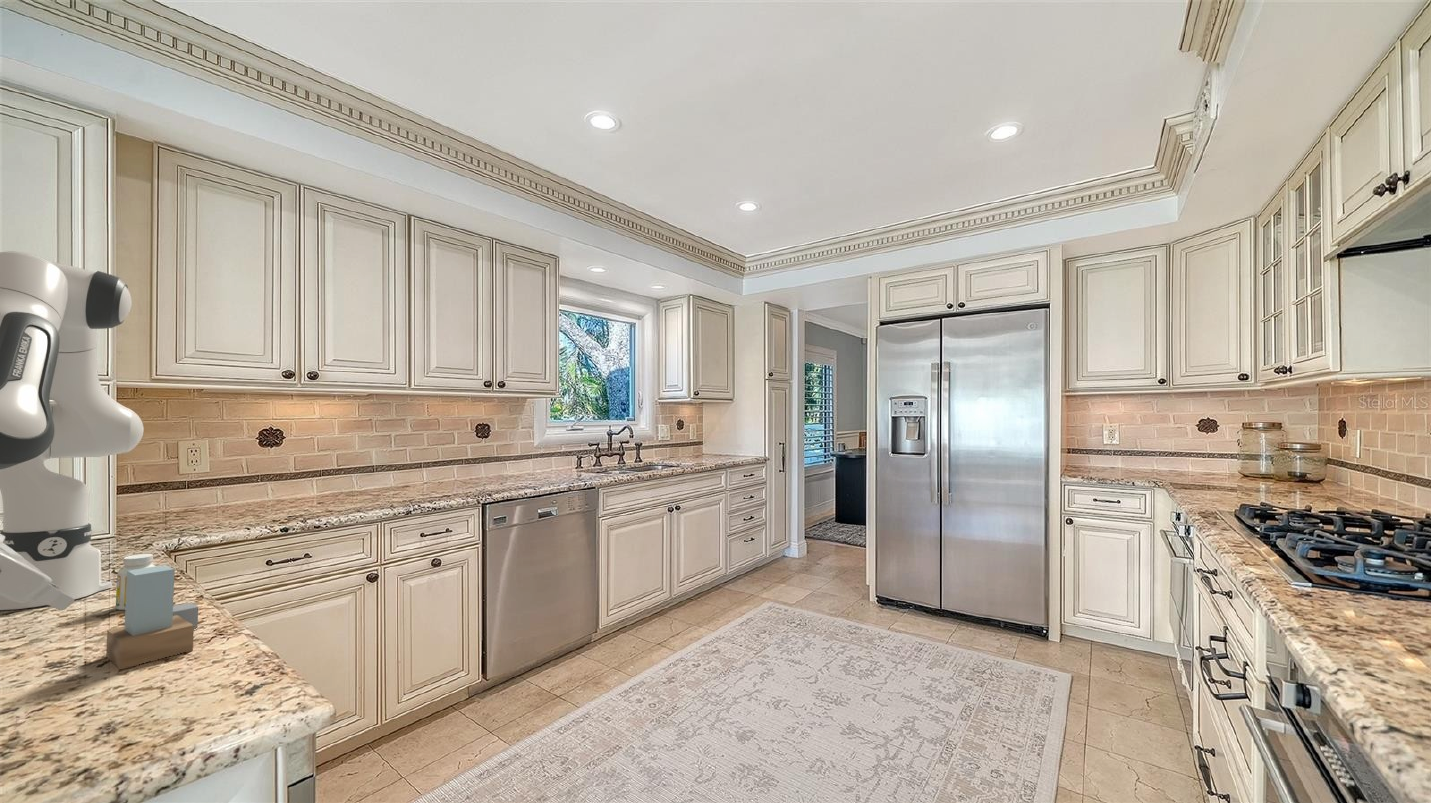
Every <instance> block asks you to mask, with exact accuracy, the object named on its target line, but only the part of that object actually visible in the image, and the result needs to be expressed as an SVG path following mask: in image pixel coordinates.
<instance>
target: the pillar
mask: <svg viewBox="0 0 1431 803" xmlns="http://www.w3.org/2000/svg"><path fill="white" fill-rule="evenodd" d="M175 571H176V570H175V568H173V567H171V566H169V565H167V564H163V565H155V567H149V568H142V569H136V570H129V571H127V584H126V605H125V610H124V626H125V627H124V626H123V627H124V630H126V631H127V632H128V633H130V634H131V635H132V636H134V635H138V634H143V633H147V632H152V631H156V630H161V629H165V628H169V627H172V620H173V606H174V595H175V573H176V572H175Z"/></svg>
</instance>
